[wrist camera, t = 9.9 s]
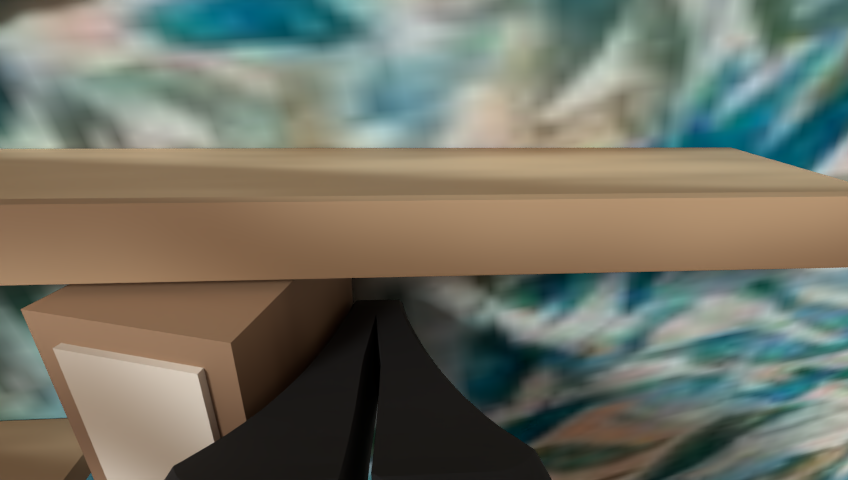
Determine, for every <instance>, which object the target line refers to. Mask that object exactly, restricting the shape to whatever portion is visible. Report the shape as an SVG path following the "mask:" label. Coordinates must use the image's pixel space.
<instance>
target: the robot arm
mask: <svg viewBox="0 0 848 480" xmlns="http://www.w3.org/2000/svg"><path fill="white" fill-rule="evenodd" d="M378 396H379V399H378ZM377 404H378V413H377V424H376V435H375V445H374V454H373V463H372V472H371V476H372V480H551V478H550V476H549V474H548V472H547V470H546V468H545V466H544V465H543V463H542V461H541V459H540V457H539V456H538V454H537V452H536V451H535V450H534V449H533V448H531V447H530V446H528V445H527V444H525V443H524V442H522V441H521V440H519V439H517V438H516V437H514V436H513V435H511V434H510V433H508V432H507V431H505V430H504V429H502V428H501V427H499V426H498V425H497V424H495V423H494V422H493V421H492V420H490V419H489V418H488V417H486V416H485V415H484V414H483V413H482V412H481V411H480V410H478V409H477V408H476V407H475V406H474V405H473V404H472V403H471V402H470V401H468V400H467V399H466V398H465V397H464V396H463V395H462V394H461V393H460V392H459V391H458V390H457V389H456V388H455V387H454V386H453V385H452V383H451V382H450V381H449V380H448V379H447V378H446V377H445V375H444V374H443V373H442V372H441V371H440V369H439V368H438V367H437V365H436V364H435V363H434V361H433V360H432V359H431V357H430V356H429V354H428V353H427V352H426V350H425V348H424V347H423V345H422V344H421V342H420V340H419V339H418V337H417V335H416V334H415V332H414V330H413V328H412V326H411V324H410V322H409V320H408V318H407V316H406V313H405V310H404V307H403V303H402V302H401V301H400V300H361V301H356V302H355V303H354V304H353V305H352V307H351V309H350V311H349V312H348V314H347V316H346V317H345V319H344V321H343V322H342V324H341V325H340V327H339V328H338V330H337V331H336V332H335V334H334V335H333V336H332V338H331V339H330V341H329V342H328V343H327V345H326V346H325V347H324V348H323V349H322V351H321V352H320V353H319V354H318V355H317V357H316V358H315V359H314V360H313V361H312V363H311V364H310V365H309V366H308V367H307V368H306V369H305V370H304V371H303V372H302V373H301V375H300V376H299V377H298V378H297V379H296V380H295V381H294V382H292V383H291V384H290V385H289V386H288V387H287V388H286V389H285V390H284V391H283V392H282V393H281V394H279V395H278V396H277V397H276V398H275V399H274V400H273V401H271V402H270V403H269V404H268V405H267V406H265V407H264V408H263V409H262V410H260V411H259V412H258V413H256V414H255V415H254V416H252V417H251V418H250V419H248V420H247V421H246V422H244V423H243V424H241V425H240V426H238V427H237V428H235V429H234V430H232V431H231V432H229V433H228V434H226V435H225V436H223V437H222V438H220V439H219V440H217V441H216V442H214V443H212V444H210V445H209V446H207V447H205V448H204V449H202V450H200V451H199V452H197V453H195V454H193V455H192V456H190V457H188V458H187V459H185V460H183V461H181V462H180V463H178V464H176V465H174V466H173V467H172V468H171V470H170V472H169V473H168V475H167V476H166V478H165V479H164V480H368V473H369V462H370V455H371V448H372V441H373V433H374V426H375V419H376V411H377Z"/></svg>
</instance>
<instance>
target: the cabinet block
mask: <svg viewBox="0 0 848 480" xmlns="http://www.w3.org/2000/svg"><path fill="white" fill-rule="evenodd" d="M352 305H353V294H352V278H327V279H280V280H234V281H187V282H141V283H94V284H69V285H67V286H65V287H63V288H61V289H59V290H57V291H56V292H54V293H52V294H50V295H48V296H46V297H44V298H42V299H40V300H38V301H36V302H34V303H32V304H30V305H28V306H26V307H24V308H22V309H21V311H22V313H23V316H24V318H25V320H26V323H27V325H28V327H29V330H30V332H31V334H32V336H33V339H34V341H35V343H36V346H37V348H38V350H39V353H40V355H41V357H42V360H43V362H44V364H45V367H46V369H47V371H48V374H49V376H50V378H51V381H52V383H53V385H54V387H55V390H56V392H57V394H58V397H59V399H60V401H61V404H62V406H63V408H64V411H65V413H66V415H67V418H68V420H69V422H70V425H71V427H72V429H73V432H74V434H75V436H76V439H77V441H78V443H79V445H80V448H81V450H82V452H83V455H84V457H85V459H86V462H87V464H88V466H89V469H90V471H91V473H92V476H93V478H94V480H164V479H165V478H166V476H167V475H168V473H169V472H170V470H171V468H172V467H173V466H174V465H176V464H178V463H180V462H181V461H183V460H185V459H187V458H188V457H190V456H192V455H193V454H195V453H197V452H199V451H200V450H202V449H204V448H205V447H207V446H209V445H210V444H212V443H214V442H216V441H217V440H219V439H220V438H222V437H223V436H225V435H226V434H228V433H229V432H231V431H232V430H234V429H235V428H237V427H238V426H240V425H241V424H243V423H244V422H246V421H247V420H248V419H250V418H251V417H252V416H254V415H255V414H256V413H258V412H259V411H260V410H262V409H263V408H264V407H265V406H267V405H268V404H269V403H270V402H271V401H273V400H274V399H275V398H276V397H277V396H278V395H279V394H281V393H282V392H283V391H284V390H285V389H286V388H287V387H288V386H289V385H290V384H291V383H292V382H294V381H295V380H296V379H297V378H298V377H299V376H300V375H301V373H302V372H303V371H304V370H305V369H306V368H307V367H308V366H309V365H310V364H311V363H312V361H313V360H314V359H315V358H316V357H317V355H318V354H319V353H320V352H321V351H322V349H323V348H324V347H325V346H326V345H327V343H328V342H329V341H330V339H331V338H332V336H333V335H334V334H335V332H336V331H337V330H338V328H339V327H340V325H341V324H342V322H343V321H344V319H345V317H346V316H347V314H348V312H349V311H350V309H351V307H352Z"/></svg>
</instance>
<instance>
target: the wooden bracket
mask: <svg viewBox="0 0 848 480" xmlns="http://www.w3.org/2000/svg"><path fill="white" fill-rule="evenodd" d="M838 267H848V182H847V181H843V180H840V179H836V178H833V177H830V176H826V175H823V174H819V173H816V172H812V171H809V170H806V169H802V168H799V167H795V166H792V165H788V164H785V163H781V162H778V161H775V160H771V159H768V158H764V157H761V156H757V155H754V154H751V153H747V152H744V151H740V150H737V149H733V148H254V149H0V286H1V285H48V284H94V283H141V282H187V281H234V280H280V279H327V278H373V277H420V276H466V275H512V274H559V273H605V272H652V271H698V270H745V269H791V268H838ZM90 473H91V471H90V469H89V466H88V464H87V462H86V459H85V457H84V455H83V452H82V450H81V448H80V445H79V443H78V441H77V439H76V436H75V434H74V432H73V429H72V427H71V425H70V422H69V420H68V418H64V419H40V420H16V421H0V480H86V479H87V477H88V476H89V474H90Z"/></svg>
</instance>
